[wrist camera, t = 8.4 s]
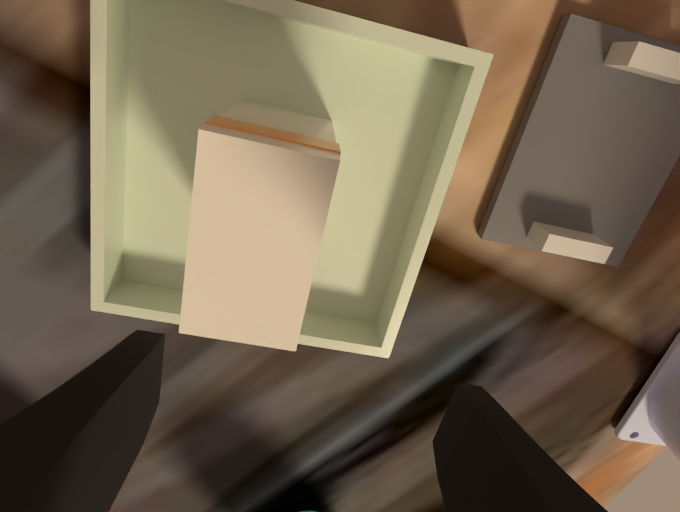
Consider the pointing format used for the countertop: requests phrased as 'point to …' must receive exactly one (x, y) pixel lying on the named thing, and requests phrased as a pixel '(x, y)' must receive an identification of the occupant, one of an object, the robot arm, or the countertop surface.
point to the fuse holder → (590, 144)
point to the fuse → (256, 223)
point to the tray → (285, 93)
